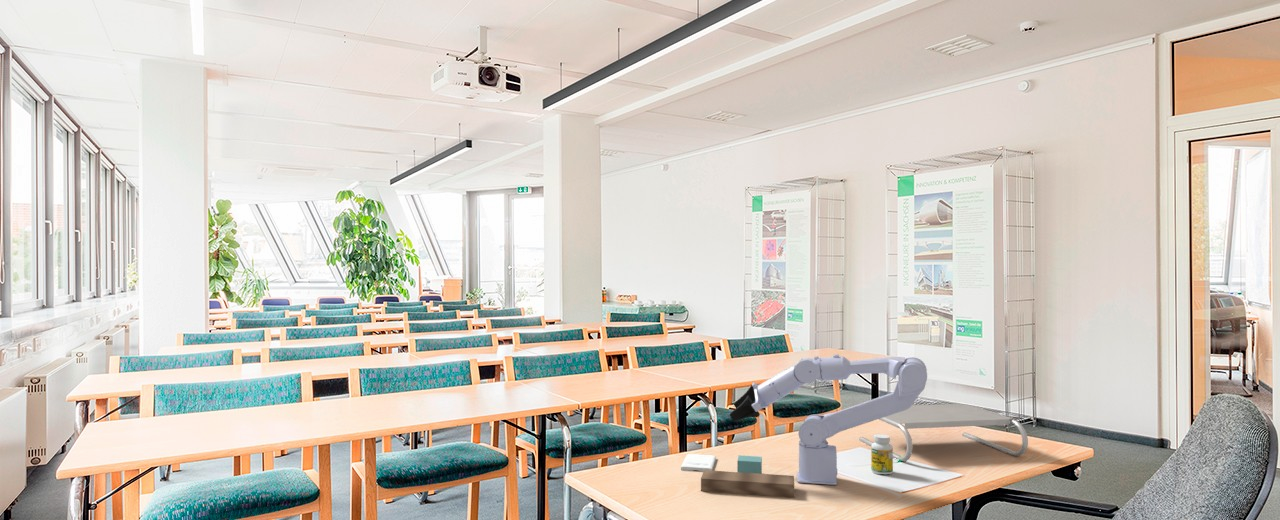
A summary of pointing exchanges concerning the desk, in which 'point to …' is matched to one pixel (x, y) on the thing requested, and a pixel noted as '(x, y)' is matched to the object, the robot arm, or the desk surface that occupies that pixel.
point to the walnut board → (747, 483)
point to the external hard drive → (698, 462)
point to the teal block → (749, 464)
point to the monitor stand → (949, 423)
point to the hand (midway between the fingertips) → (733, 412)
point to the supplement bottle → (882, 455)
